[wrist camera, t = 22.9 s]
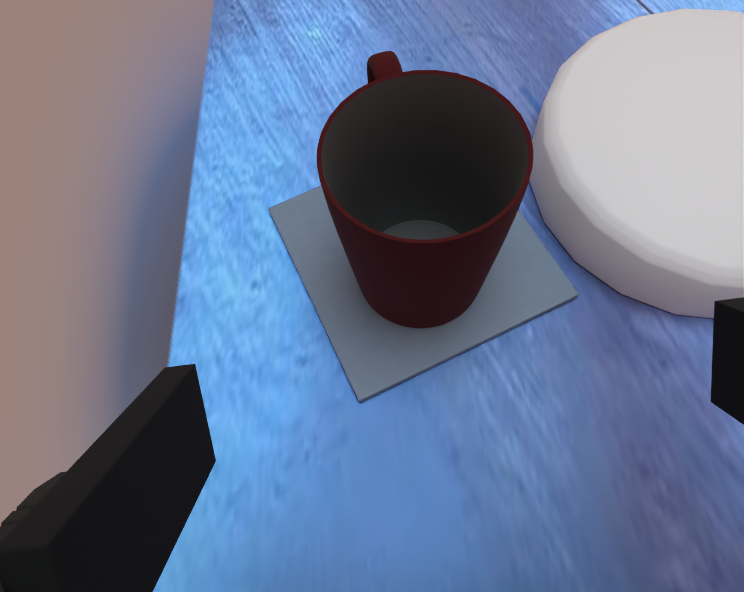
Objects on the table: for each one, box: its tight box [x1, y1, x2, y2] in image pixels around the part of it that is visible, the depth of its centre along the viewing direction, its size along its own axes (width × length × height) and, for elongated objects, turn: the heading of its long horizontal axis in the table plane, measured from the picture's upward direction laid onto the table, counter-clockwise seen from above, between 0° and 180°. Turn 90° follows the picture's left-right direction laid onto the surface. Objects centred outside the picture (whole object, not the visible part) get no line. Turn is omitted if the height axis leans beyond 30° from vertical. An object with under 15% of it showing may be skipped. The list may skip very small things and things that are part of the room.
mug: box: [317, 51, 533, 328], centre depth 28 cm, size 12×9×11 cm
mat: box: [269, 186, 579, 403], centre depth 33 cm, size 14×14×1 cm
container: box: [530, 9, 744, 318], centre depth 32 cm, size 20×20×5 cm
